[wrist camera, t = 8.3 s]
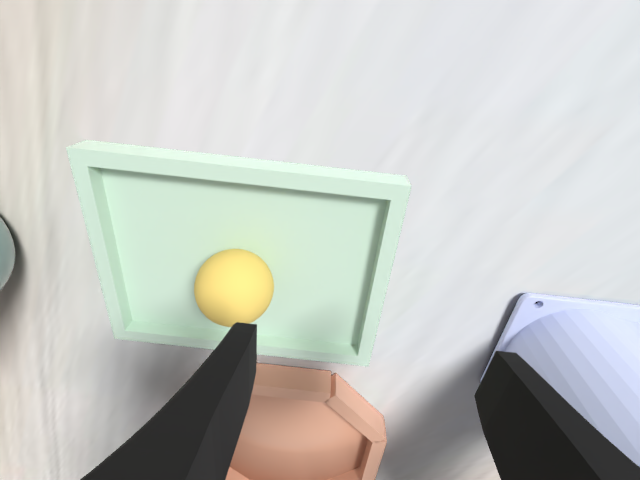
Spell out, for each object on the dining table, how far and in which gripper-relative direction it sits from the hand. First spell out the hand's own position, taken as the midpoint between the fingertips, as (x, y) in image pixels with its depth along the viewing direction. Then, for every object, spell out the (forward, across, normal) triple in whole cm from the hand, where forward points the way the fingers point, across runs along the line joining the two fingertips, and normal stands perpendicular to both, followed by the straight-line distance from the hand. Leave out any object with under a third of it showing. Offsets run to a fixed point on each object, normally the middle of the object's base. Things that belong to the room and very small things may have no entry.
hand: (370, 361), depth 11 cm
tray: (+9, +6, +3) cm, 12 cm away
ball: (+9, +6, +3) cm, 11 cm away
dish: (+9, +3, +19) cm, 21 cm away
